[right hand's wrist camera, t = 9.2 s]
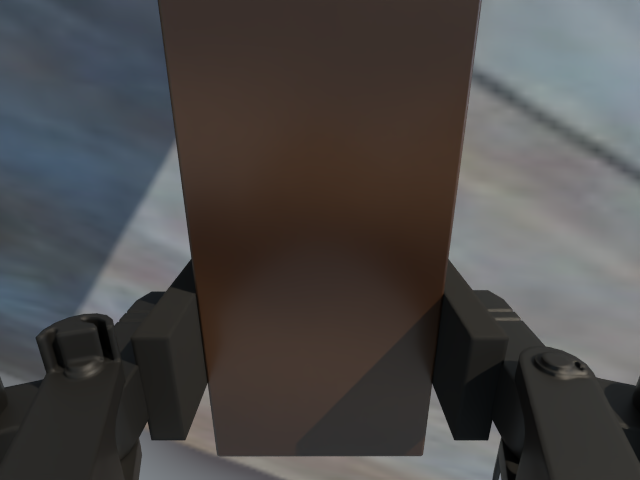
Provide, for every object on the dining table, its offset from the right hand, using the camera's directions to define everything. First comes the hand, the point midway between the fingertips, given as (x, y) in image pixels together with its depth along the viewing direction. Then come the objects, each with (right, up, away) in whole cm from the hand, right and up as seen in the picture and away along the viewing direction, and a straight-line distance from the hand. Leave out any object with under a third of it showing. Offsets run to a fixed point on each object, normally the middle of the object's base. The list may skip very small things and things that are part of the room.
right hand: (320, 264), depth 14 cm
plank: (0, +13, -5) cm, 14 cm away
